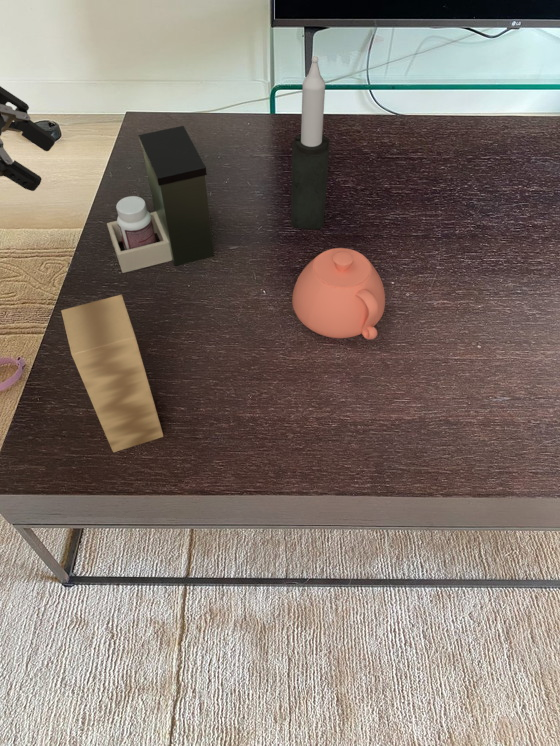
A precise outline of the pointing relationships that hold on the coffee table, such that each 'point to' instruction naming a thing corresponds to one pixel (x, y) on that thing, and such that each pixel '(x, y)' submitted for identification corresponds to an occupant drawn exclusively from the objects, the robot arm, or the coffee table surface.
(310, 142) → the candle
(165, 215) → the dispenser
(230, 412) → the coffee table surface
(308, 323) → the sugar bowl
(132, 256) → the dock
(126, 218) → the pill bottle
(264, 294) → the coffee table surface
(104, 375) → the stand
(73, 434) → the coffee table surface
